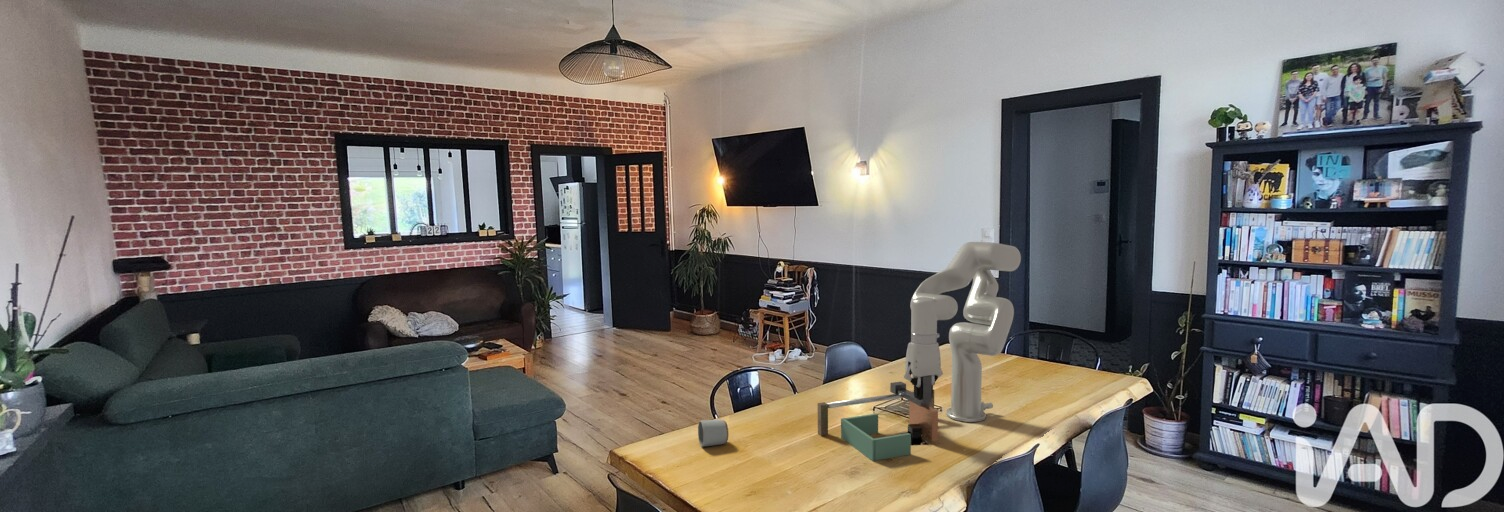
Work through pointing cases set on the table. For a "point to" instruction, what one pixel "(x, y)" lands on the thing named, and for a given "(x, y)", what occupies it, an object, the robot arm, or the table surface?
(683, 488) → the table surface
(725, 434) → the ceramic mug
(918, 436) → the black block
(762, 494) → the table surface
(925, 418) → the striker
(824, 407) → the rod rail
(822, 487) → the table surface
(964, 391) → the robot arm
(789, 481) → the table surface
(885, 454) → the box
